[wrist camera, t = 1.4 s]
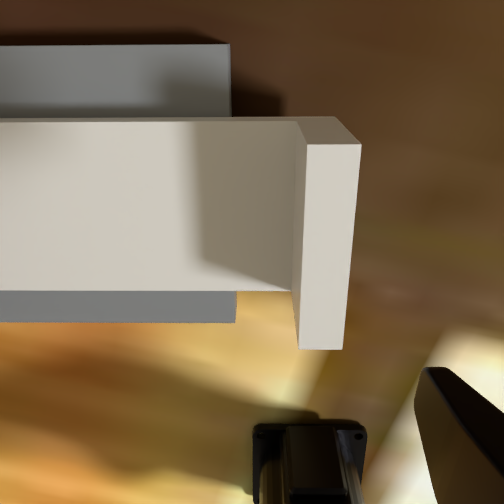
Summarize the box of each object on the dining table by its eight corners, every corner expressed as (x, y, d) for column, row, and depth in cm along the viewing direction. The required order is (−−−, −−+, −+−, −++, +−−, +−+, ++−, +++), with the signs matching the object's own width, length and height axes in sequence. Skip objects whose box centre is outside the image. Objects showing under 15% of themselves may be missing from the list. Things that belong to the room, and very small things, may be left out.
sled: (323, 279, 20) (342, 349, 16) (-209, 278, 21) (-341, 346, 16) (334, 116, 17) (361, 144, 13) (-288, 119, 18) (-478, 147, 13)
